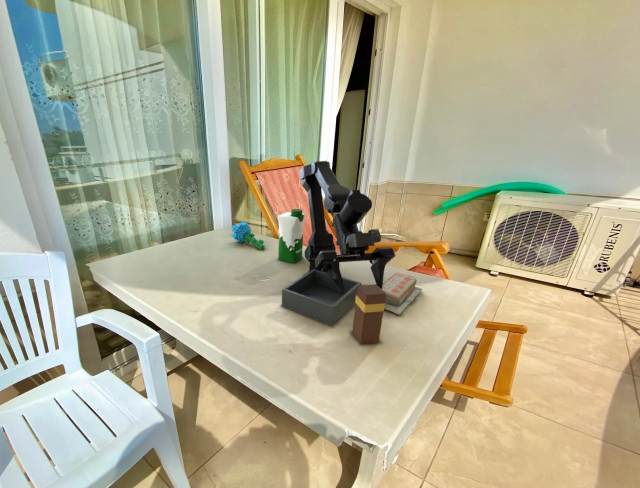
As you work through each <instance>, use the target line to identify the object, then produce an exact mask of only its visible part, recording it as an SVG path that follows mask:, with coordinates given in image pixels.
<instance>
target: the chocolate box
mask: <svg viewBox="0 0 640 488" xmlns="http://www.w3.org/2000/svg"><path fill="white" fill-rule="evenodd" d="M385 298H386V293H385V292H384V291H383V290H382V289H381V288H380V287H378V286H377V285H376V283H375V284H361V285H359V286H357V295H356V300H355V304H354V311H353V312H354V313H353V321H352V330H351V332H352V334H353V336H354V337H355V339H356V340H357V341H358V343H359V344H361V345H363V344H375V343H379V342H380V337H381V331H382V330H381V329H382V324H383V316H384V312H385V309H384V308H385Z"/></svg>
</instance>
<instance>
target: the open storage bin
mask: <svg viewBox="0 0 640 488" xmlns="http://www.w3.org/2000/svg"><path fill="white" fill-rule="evenodd" d="M307 272H308V273H307ZM307 272H306V273H307V274H306V273H305V274H303V275H302V276H300V277H299V278H297V279H296V280H294V281H293V282H290V283H289V284H288V285H286V286H284V287H283V288H282V289H281V307H284V308H286V309H288V310H290V311H293V312H296V313H299V314H300V315H303V316H305V317H308V318H311V319H313V320H316V321H319V322H321V323H323V324H325V325H328V326H331V327H332V326H334V325H335V323H337V322H338V321H339V320H340V318H342V317H343V316H344V315H345V314H347V312H348V311H349V310H350V309H351V308H352V307H353V306H355V300H356V295H357V286H359V285H362V282H360V281H358V280H353V279H350V278H347V277H343V276H342V279H343V282H344V287H345V292H342V291H341V290H340V289H339V287H338V286H337V285H336V283H335V282H334V281H333V280H332V278H331V277H330V276H329V275H328V274H327V273H325V272H322V271H318V270H315V269H313V270H311V271H310V272H309V271H307Z"/></svg>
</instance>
